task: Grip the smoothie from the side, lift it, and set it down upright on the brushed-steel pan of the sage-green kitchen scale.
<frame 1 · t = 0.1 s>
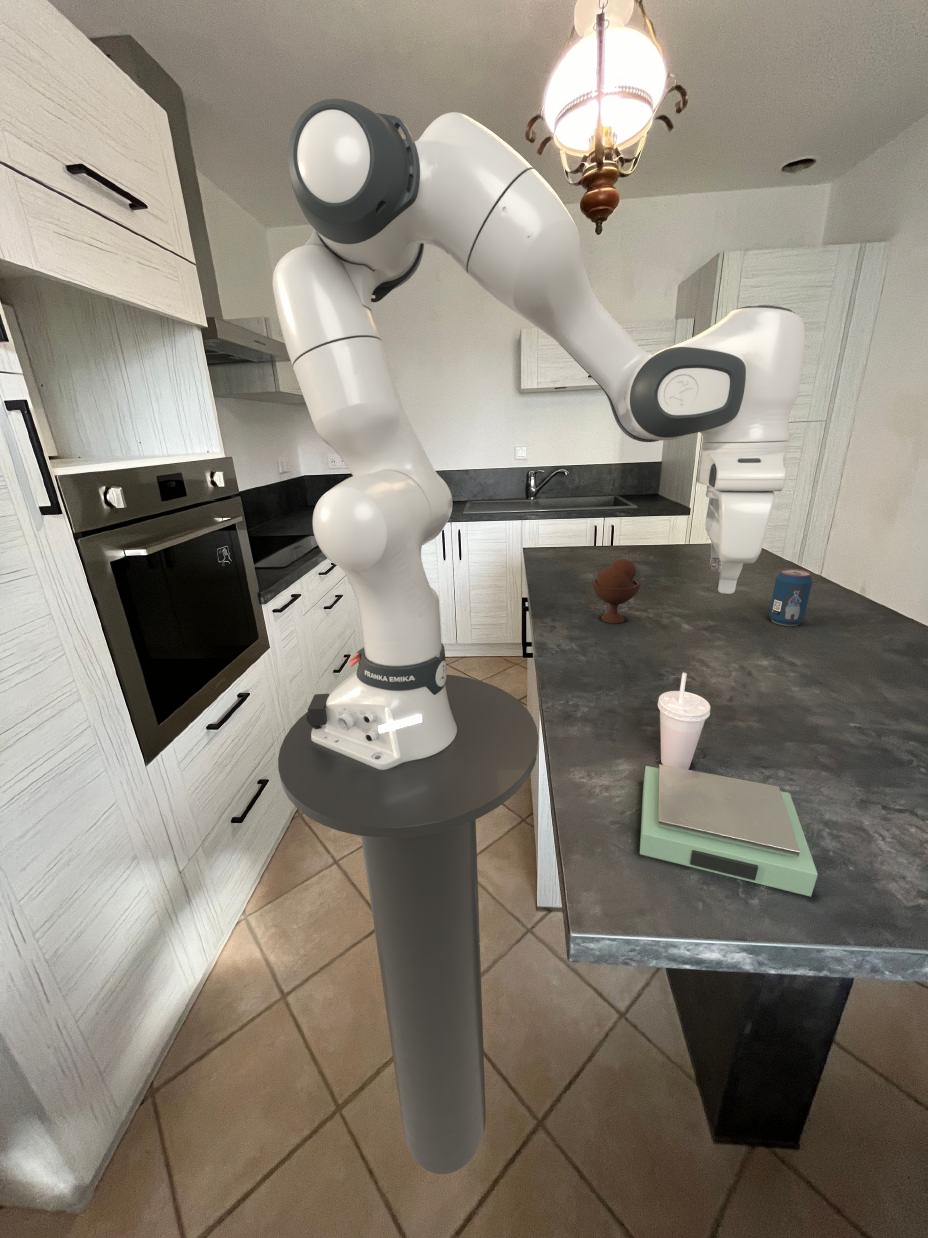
hand: (720, 580, 62), 25 cm above the countertop, tool pointing down, fingers open, 8 cm apart
ice cream bowl: (612, 619, 119), on the countertop
kitchen scale: (715, 832, 56), on the countertop
scale pan: (720, 805, 54), point 4 cm above the countertop, slide at 0.0 cm
soda can: (784, 622, 114), on the countertop
smoothie: (675, 764, 68), on the countertop
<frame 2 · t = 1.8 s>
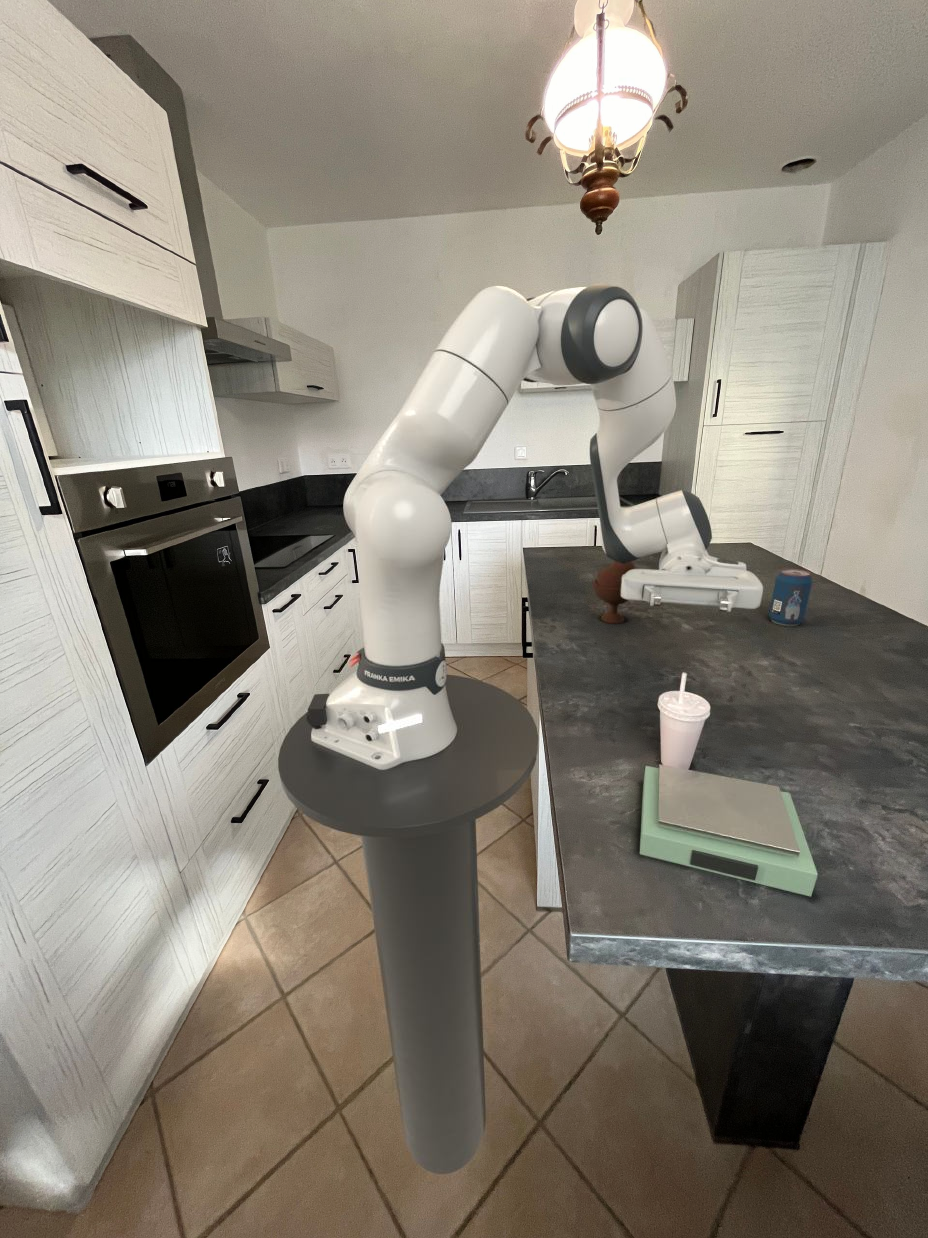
hand: (689, 604, 71), 19 cm above the countertop, tool horizontal, fingers open, 8 cm apart
nothing on the countertop moved.
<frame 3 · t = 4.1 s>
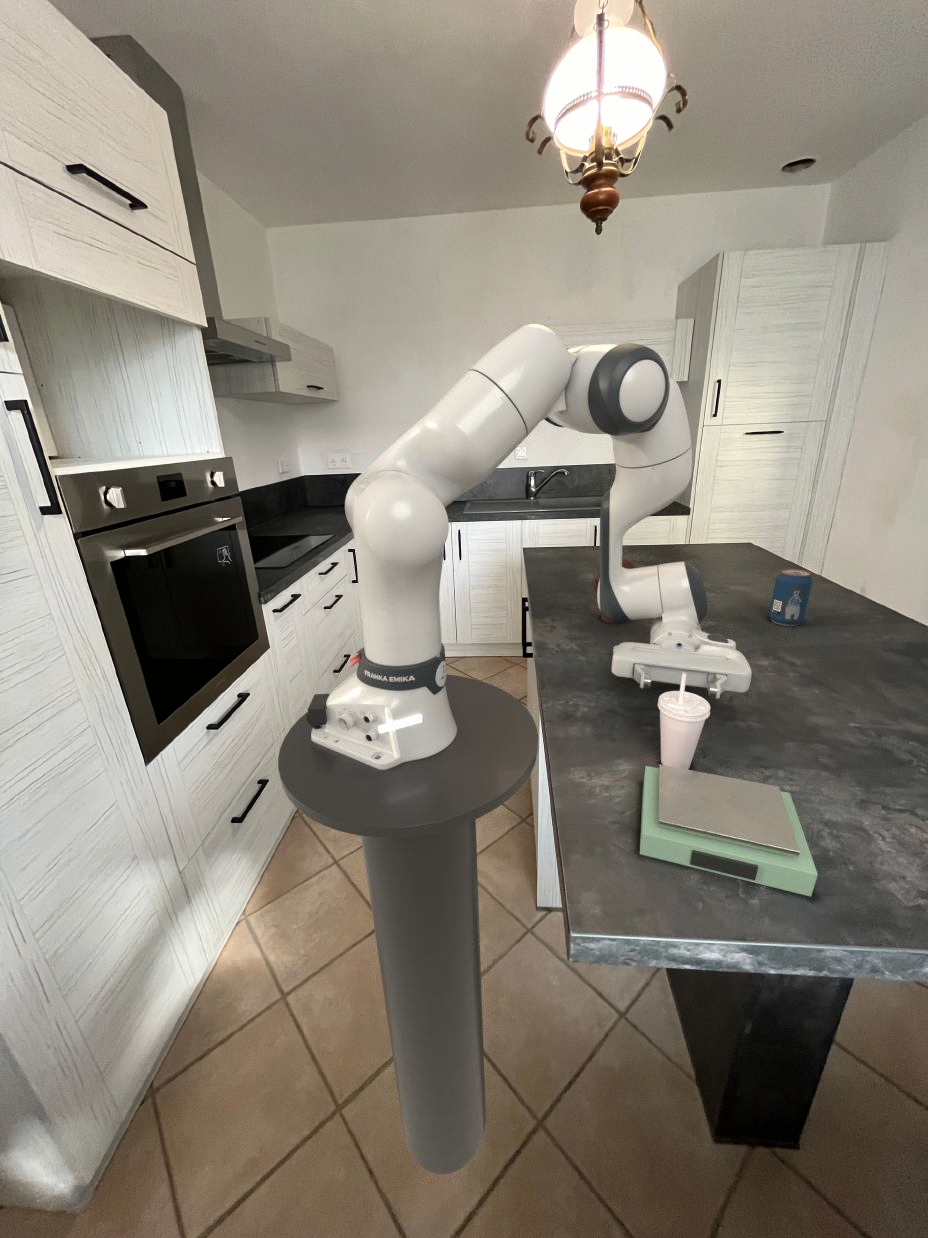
hand: (679, 689, 72), 7 cm above the countertop, tool horizontal, fingers open, 8 cm apart
nothing on the countertop moved.
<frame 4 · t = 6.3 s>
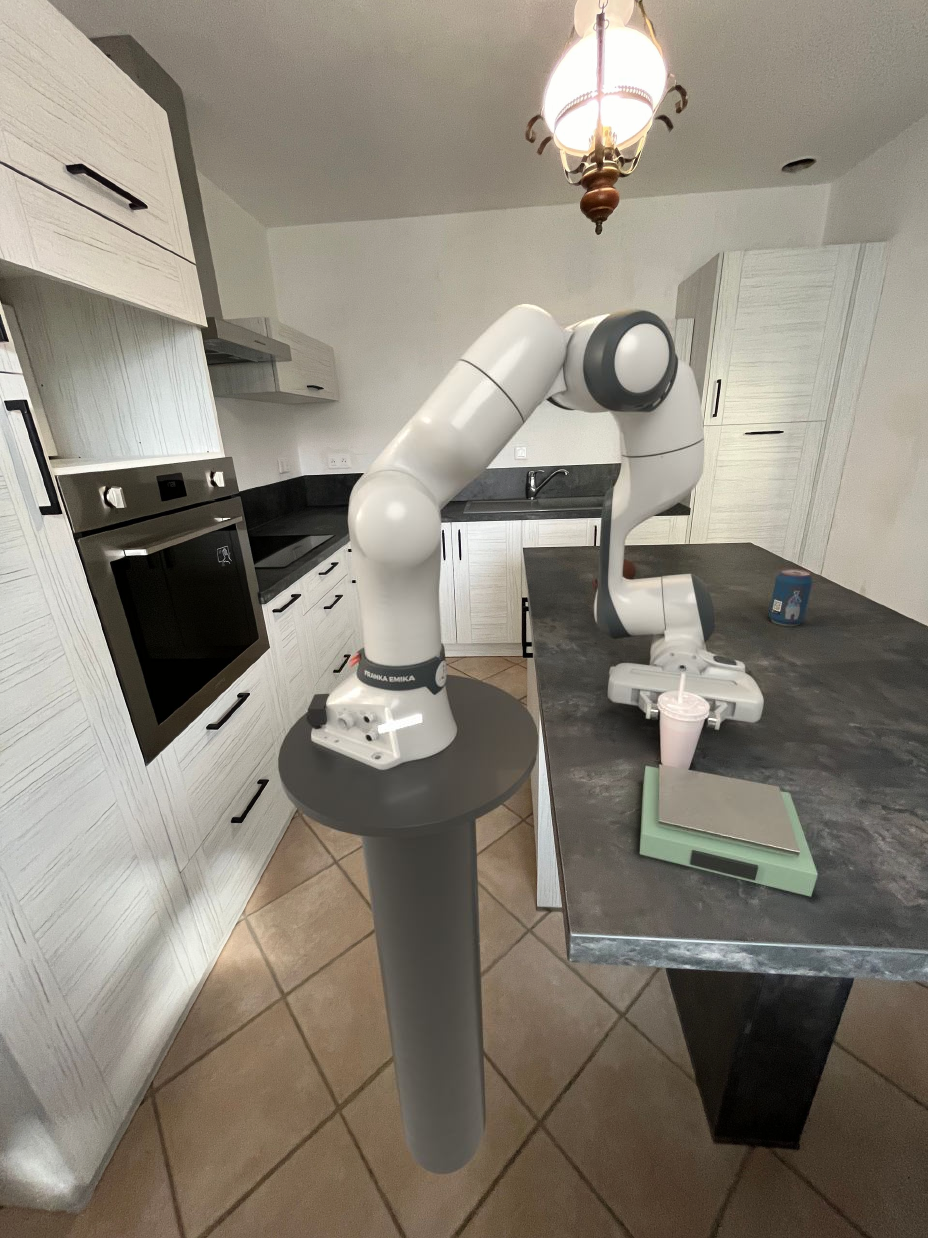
hand: (682, 719, 64), 8 cm above the countertop, tool horizontal, fingers closed on smoothie, 6 cm apart
smoothie: (675, 763, 68), on the countertop, touching gripper
everything else where it was.
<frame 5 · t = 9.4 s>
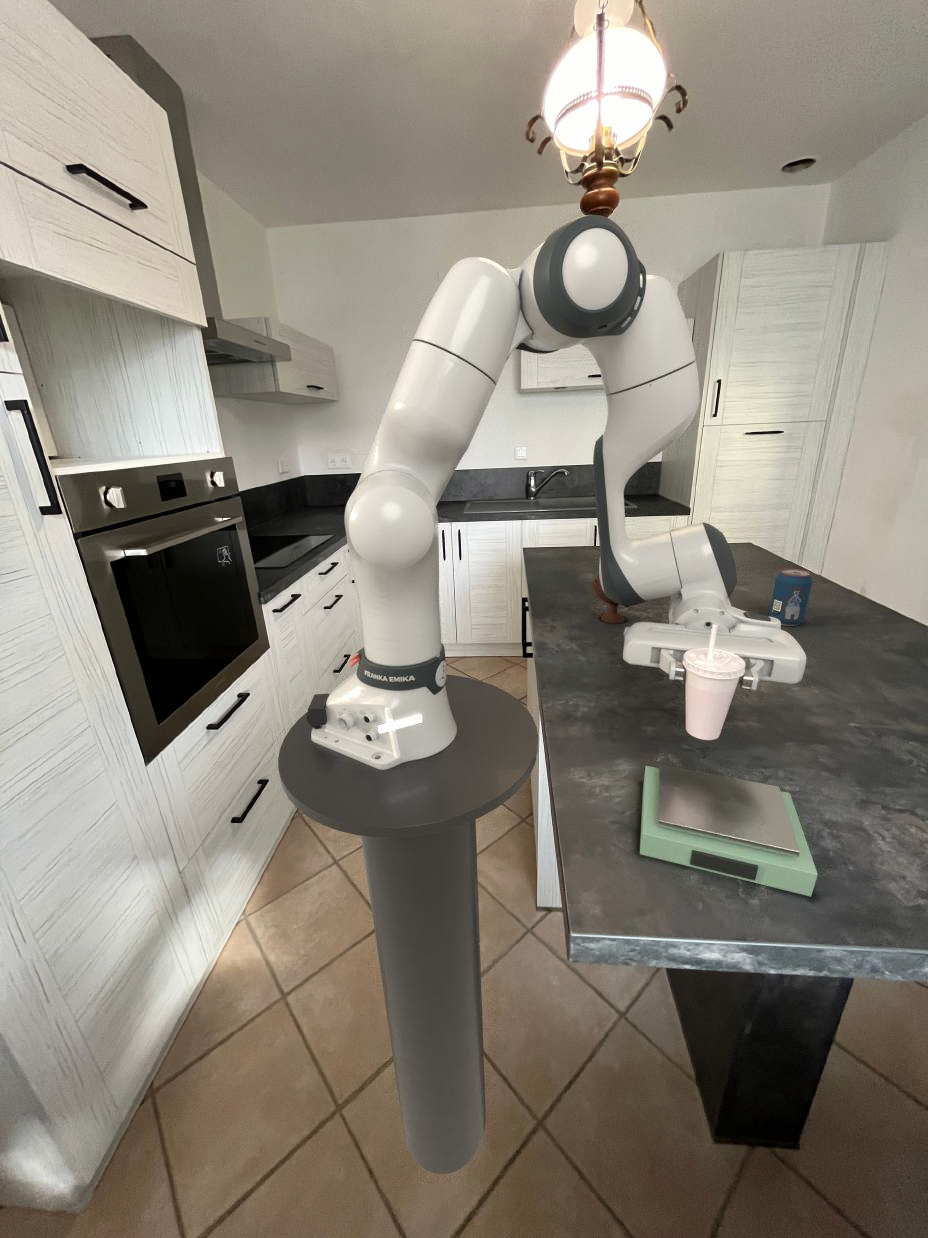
hand: (713, 679, 55), 17 cm above the countertop, tool horizontal, fingers closed on smoothie, 6 cm apart
smoothie: (702, 732, 59), point 9 cm above the countertop, touching gripper
everything else where it was.
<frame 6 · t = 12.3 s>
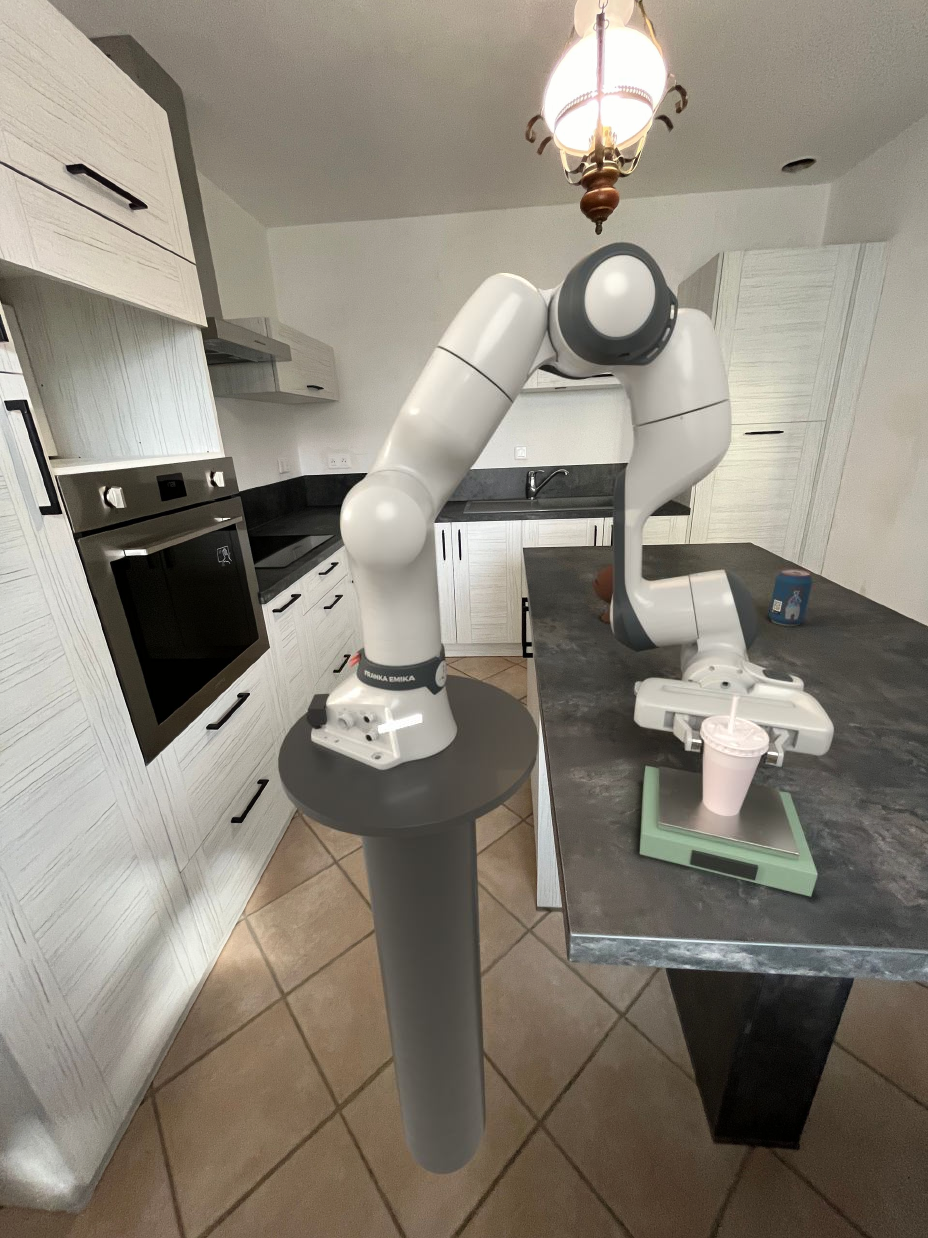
hand: (733, 753, 51), 12 cm above the countertop, tool horizontal, fingers closed on smoothie, 6 cm apart
scale pan: (720, 807, 55), point 4 cm above the countertop, slide at -0.3 cm, touching smoothie
smoothie: (720, 805, 55), point 4 cm above the countertop, touching gripper, scale pan
everything else where it was.
when the fingers open (12 cm above the countertop, at t = 12.4 s): smoothie stays where it is, resting on scale pan.
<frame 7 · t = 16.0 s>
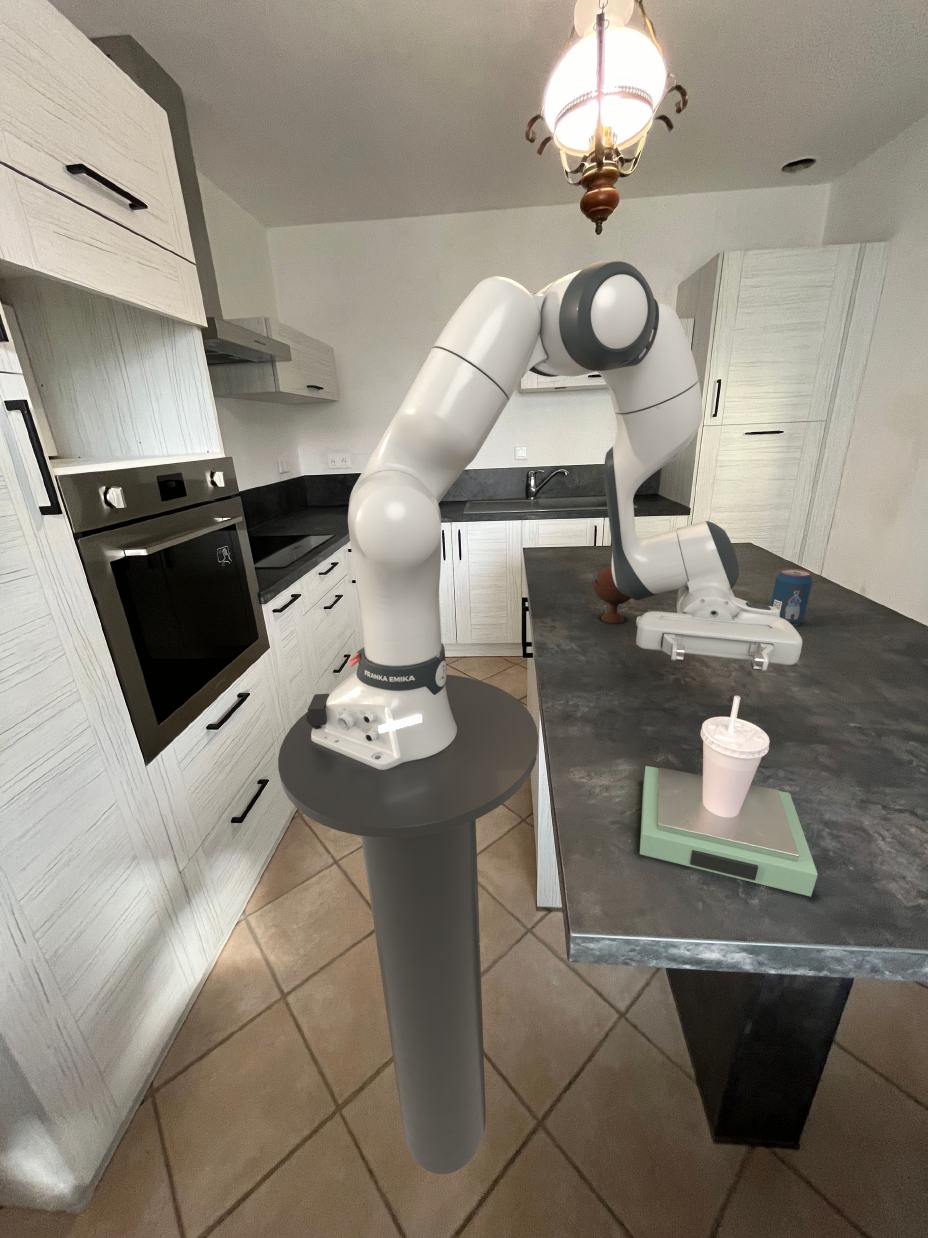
hand: (718, 660, 62), 16 cm above the countertop, tool horizontal, fingers open, 8 cm apart
smoothie: (720, 806, 55), point 4 cm above the countertop, touching scale pan
everything else where it was.
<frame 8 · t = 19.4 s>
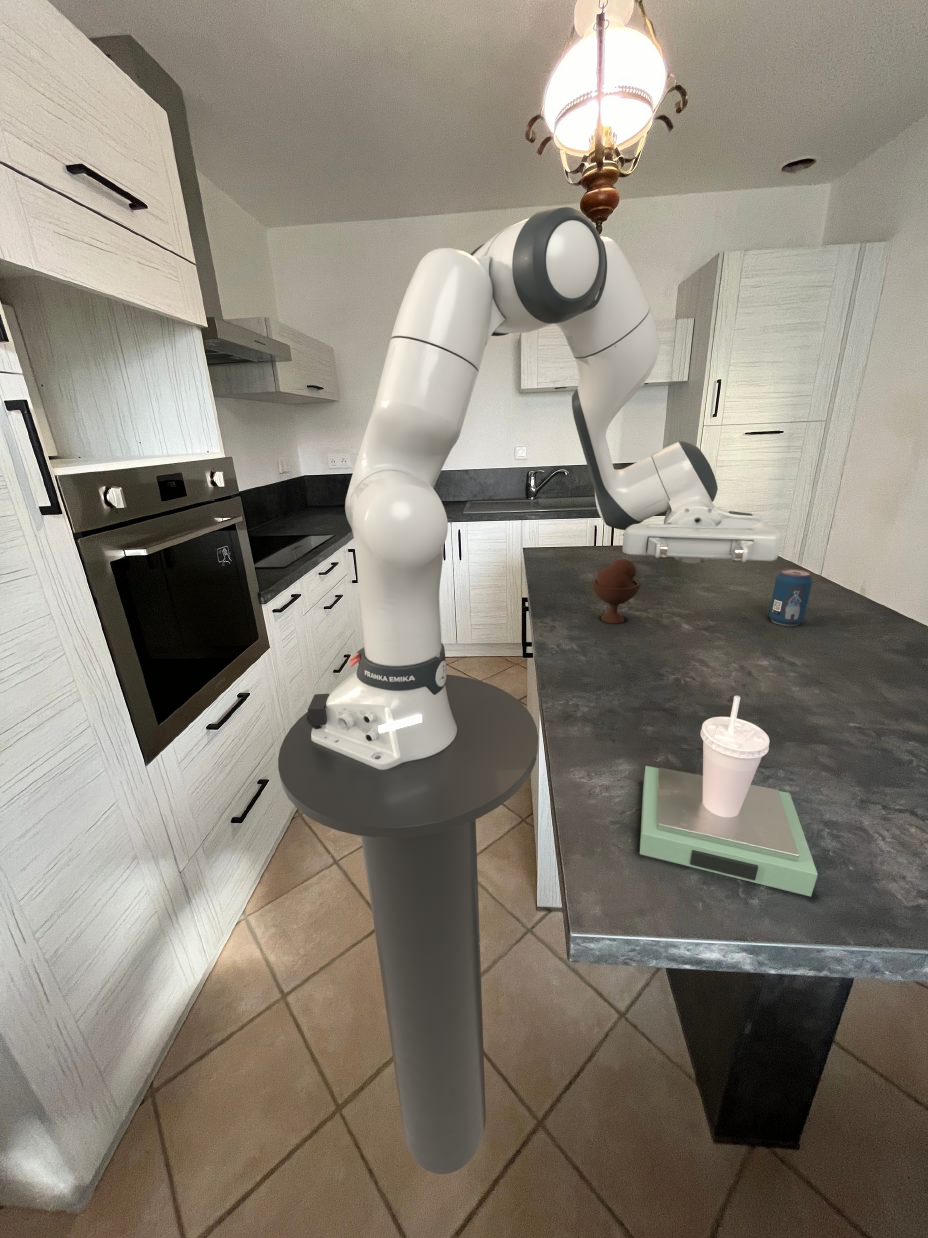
hand: (700, 554, 64), 28 cm above the countertop, tool horizontal, fingers open, 8 cm apart
nothing on the countertop moved.
at the end: smoothie inside the target area on the kitchen scale (0.1 cm from its centre), point 3.7 cm above the kitchen scale's base; smoothie tilted 0°; the gripper is holding nothing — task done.
